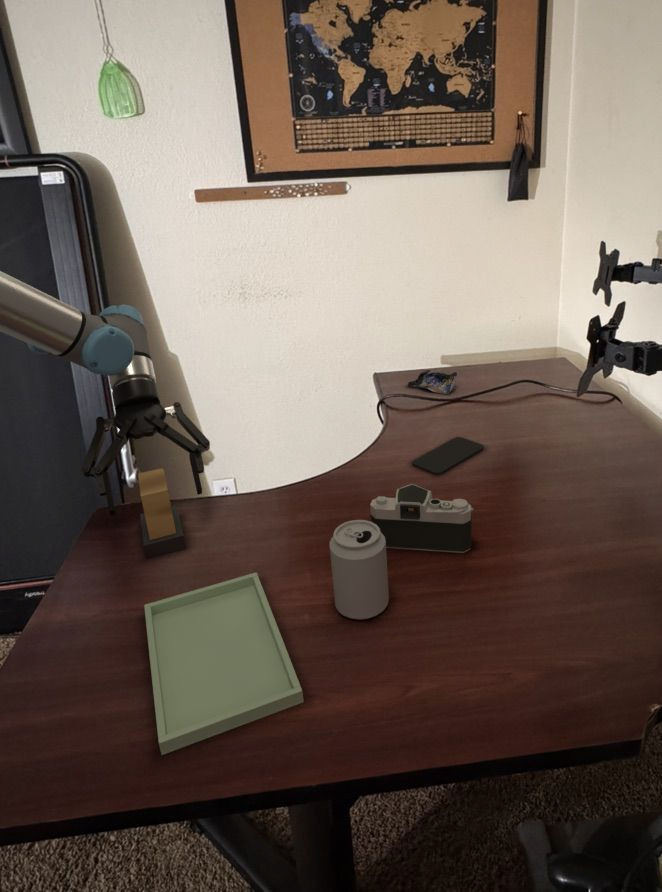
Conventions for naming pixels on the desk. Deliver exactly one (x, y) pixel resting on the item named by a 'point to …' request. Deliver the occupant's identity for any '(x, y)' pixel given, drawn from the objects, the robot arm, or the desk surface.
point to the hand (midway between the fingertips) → (157, 502)
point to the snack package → (434, 381)
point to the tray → (216, 661)
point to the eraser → (159, 516)
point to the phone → (447, 455)
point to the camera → (423, 521)
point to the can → (359, 569)
